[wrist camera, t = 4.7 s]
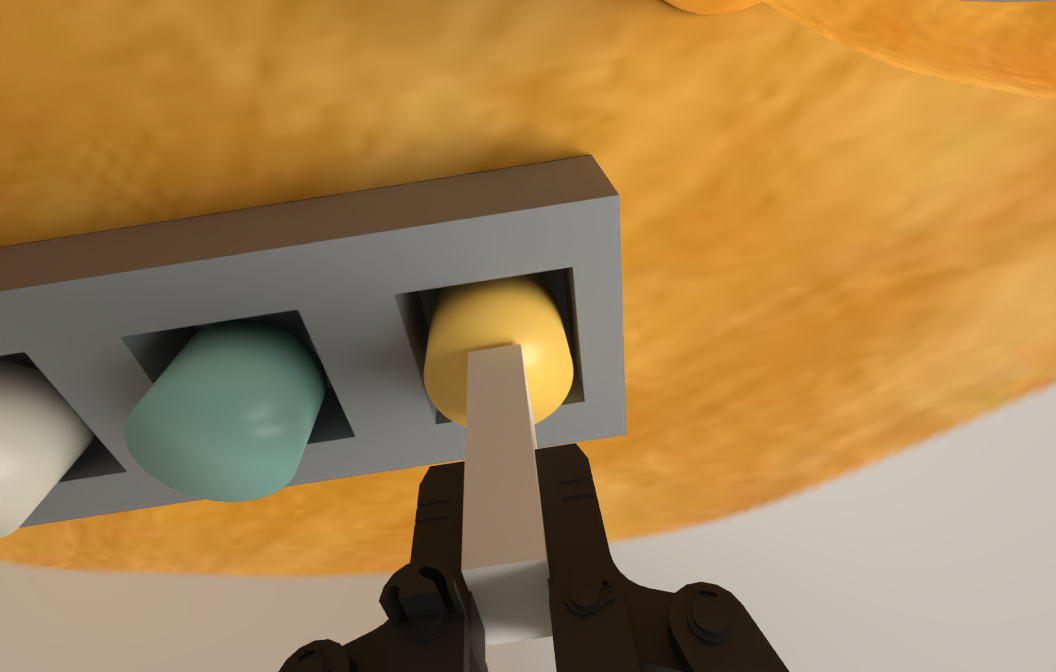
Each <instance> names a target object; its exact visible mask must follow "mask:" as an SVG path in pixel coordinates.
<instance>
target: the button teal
mask: <svg viewBox="0 0 1056 672" xmlns="http://www.w3.org/2000/svg"><path fill="white" fill-rule="evenodd" d="M326 389H327V377H326V372H325V369H324V367H323V364H322V363H321V361H320V359H319V358H318V356H317V355H316V353H315V352H314V351H313V350H312V349H311V348H310V347H309V346H308V345H307V344H306V343H305V342H304V341H302V340H301V339H300V338H298V337H297V336H295V335H294V334H292V333H290V332H288V331H287V330H285V329H282V328H280V327H278V326H275V325H272V324H269V323H266V322H261V321H256V320H248V319H233V320H227V321H221V322H216V323H213V324H211V325H208V326H206V327H205V328H203V329H201V330H200V331H198V332H197V333H196V334H195V335H194V336H193V337H192V338H191V339H190V340H189V342H188V343H187V344H186V345H185V347H184V348H183V349H182V350H181V351H180V353H179V354H178V355H177V356H176V357H175V359H174V360H173V361H172V362H171V364H170V365H169V366H168V367H167V368H166V370H165V371H164V372H163V373H162V375H161V376H160V377H159V378H158V379H157V381H156V382H155V383H154V384H153V385H152V387H151V388H150V389H149V390H148V392H147V393H146V394H145V395H144V396H143V398H142V399H141V400H140V401H139V403H138V404H137V405H136V406H135V407H134V409H133V410H132V411H131V413H130V414H129V416H128V418H127V420H126V423H125V430H124V435H125V441H126V444H127V447H128V449H129V451H130V453H131V455H132V456H133V458H134V459H135V461H136V462H137V463H138V464H139V465H140V466H141V467H142V468H143V469H144V470H145V471H146V472H147V473H148V474H150V475H151V476H152V477H154V478H155V479H157V480H158V481H160V482H161V483H163V484H165V485H167V486H168V487H171V488H173V489H175V490H177V491H180V492H182V493H185V494H188V495H191V496H194V497H198V498H203V499H207V500H214V501H224V502H241V501H250V500H255V499H259V498H263V497H266V496H269V495H271V494H273V493H275V492H277V491H279V490H280V489H282V488H283V487H284V486H286V485H287V484H288V483H289V482H290V481H291V479H292V478H293V476H294V475H295V473H296V471H297V468H298V465H299V463H300V460H301V458H302V455H303V452H304V450H305V447H306V444H307V442H308V439H309V436H310V434H311V431H312V428H313V426H314V423H315V420H316V418H317V415H318V412H319V410H320V407H321V404H322V402H323V399H324V396H325V394H326Z"/></svg>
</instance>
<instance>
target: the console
mask: <svg viewBox="0 0 1056 672" xmlns="http://www.w3.org/2000/svg"><path fill="white" fill-rule="evenodd" d="M530 273H536V274H537V275H539V276H540V277H541V278H542V279H543V280H544V281H545V282H546V283H547V284H548V285H549V287H550V288H551V290H552V291H553V293H554V295H555V298H556V301H557V304H558V308H559V312H560V316H561V319H562V323H563V327H564V331H565V335H566V339H567V343H568V347H569V351H570V355H571V359H572V364H573V380H572V384H571V387H570V390H569V392H568V394H567V396H566V398H565V399H564V401H563V402H562V404H561V405H560V406H559V407H558V408H557V409H556V410H555V411H554V412H553V413H552V414H551V415H549V416H548V417H546V418H545V419H543V420H542V421H540V422H538V423H536V424H534V428H535V435H536V443H537V448H542V447H548V446H555V445H562V444H568V443H575V442H581V441H588V440H594V439H601V438H607V437H614V436H620V435H626V407H625V374H624V340H623V307H622V274H621V240H620V207H619V194H618V193H617V191H616V190H615V188H614V187H613V185H612V184H611V182H610V181H609V180H608V178H607V177H606V175H605V174H604V172H603V171H602V169H601V168H600V167H599V165H598V164H597V162H596V161H595V159H594V158H593V156H592V155H588V156H582V157H575V158H569V159H562V160H556V161H550V162H543V163H537V164H530V165H524V166H518V167H511V168H505V169H498V170H492V171H486V172H479V173H473V174H466V175H460V176H454V177H447V178H441V179H434V180H428V181H422V182H415V183H409V184H403V185H396V186H390V187H383V188H377V189H371V190H364V191H358V192H351V193H345V194H339V195H332V196H326V197H319V198H313V199H307V200H300V201H294V202H287V203H281V204H275V205H268V206H262V207H255V208H249V209H243V210H236V211H230V212H223V213H217V214H211V215H204V216H198V217H191V218H185V219H179V220H172V221H166V222H160V223H153V224H147V225H140V226H134V227H128V228H121V229H115V230H108V231H102V232H96V233H89V234H83V235H76V236H70V237H64V238H57V239H51V240H44V241H38V242H32V243H25V244H19V245H12V246H6V247H0V360H2V361H8V362H13V363H17V364H21V365H24V366H27V367H30V368H33V369H35V370H38V371H40V372H42V373H43V374H44V375H45V376H46V377H47V379H48V380H49V381H50V382H51V383H52V384H53V386H54V387H55V388H56V389H57V390H58V391H59V393H60V394H61V395H62V396H63V397H64V398H65V400H66V401H67V402H68V403H69V404H70V405H71V407H72V408H73V409H74V410H75V411H76V412H77V414H78V415H79V416H80V417H81V418H82V419H83V421H84V422H85V423H86V424H87V425H88V427H89V428H90V429H91V430H92V431H93V432H94V434H95V436H94V439H93V440H92V442H91V444H90V445H89V446H88V447H87V448H86V450H85V451H84V452H83V453H82V454H81V455H80V457H79V458H78V459H77V460H76V461H75V462H74V464H73V465H72V466H71V467H70V468H69V469H68V471H67V472H66V473H65V474H64V475H63V477H62V478H61V479H60V480H59V481H58V482H57V484H56V485H55V486H54V487H53V488H52V489H51V491H50V492H49V493H48V494H47V495H46V496H45V498H44V499H43V500H42V501H41V502H40V503H39V505H38V506H37V507H36V508H35V509H34V511H33V512H32V513H31V514H30V515H29V516H28V518H27V519H26V520H25V521H24V522H23V523H22V525H21V526H20V527H26V526H32V525H39V524H45V523H52V522H58V521H65V520H71V519H78V518H85V517H91V516H98V515H104V514H111V513H117V512H124V511H130V510H137V509H143V508H150V507H156V506H163V505H170V504H176V503H183V502H189V501H196V500H202V499H203V498H198V497H194V496H191V495H188V494H185V493H182V492H180V491H177V490H175V489H173V488H171V487H168V486H167V485H165V484H163V483H161V482H160V481H158V480H157V479H155V478H154V477H152V476H151V475H150V474H148V473H147V472H146V471H145V470H144V469H143V468H142V467H141V466H140V465H139V464H138V463H137V462H136V461H135V459H134V458H133V456H132V455H131V453H130V451H129V449H128V447H127V444H126V441H125V435H124V430H125V423H126V420H127V418H128V416H129V414H130V413H131V411H132V410H133V409H134V407H135V406H136V405H137V404H138V403H139V401H140V400H141V399H142V398H143V396H144V395H145V394H146V393H147V392H148V390H149V389H150V388H151V387H152V385H153V384H154V383H155V382H156V381H157V379H158V378H159V377H160V376H161V375H162V373H163V372H164V371H165V370H166V368H167V367H168V366H169V365H170V364H171V362H172V361H173V360H174V359H175V357H176V356H177V355H178V354H179V353H180V351H181V350H182V349H183V348H184V347H185V345H186V344H187V343H188V342H189V340H190V339H191V338H192V337H193V336H194V335H195V334H196V333H197V332H198V331H200V330H201V329H203V328H205V327H206V326H208V325H211V324H213V323H216V322H221V321H227V320H233V319H248V320H256V321H261V322H266V323H269V324H272V325H275V326H278V327H280V328H282V329H285V330H287V331H288V332H290V333H292V334H294V335H295V336H297V337H298V338H300V339H301V340H302V341H304V342H305V343H306V344H307V345H308V346H309V347H310V348H311V349H312V350H313V351H314V352H315V353H316V355H317V356H318V358H319V359H320V361H321V363H322V364H323V367H324V369H325V372H326V377H327V389H326V394H325V396H324V399H323V402H322V404H321V407H320V410H319V412H318V415H317V418H316V420H315V423H314V426H313V428H312V431H311V434H310V436H309V439H308V442H307V444H306V447H305V450H304V452H303V455H302V458H301V460H300V463H299V465H298V468H297V471H296V473H295V475H294V476H293V478H292V479H291V481H290V482H289V483H288V484H287V485H286V486H284V487H287V486H294V485H300V484H307V483H313V482H320V481H326V480H333V479H339V478H346V477H352V476H359V475H366V474H372V473H379V472H385V471H392V470H398V469H405V468H411V467H418V466H424V465H431V464H437V463H444V462H450V461H457V460H464V459H465V437H466V427H464V426H461V425H459V424H457V423H455V422H453V421H451V420H450V419H448V418H447V417H445V416H444V415H443V414H442V413H441V412H440V411H439V410H438V409H437V408H436V407H435V406H434V405H433V403H432V402H431V400H430V398H429V396H428V394H427V392H426V389H425V384H424V366H425V359H426V352H427V345H428V338H429V330H430V323H431V316H432V309H433V305H434V301H435V299H436V296H437V294H438V292H439V291H440V289H441V288H442V287H446V286H453V285H459V284H465V283H472V282H478V281H485V280H491V279H498V278H504V277H511V276H517V275H524V274H530Z"/></svg>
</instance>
